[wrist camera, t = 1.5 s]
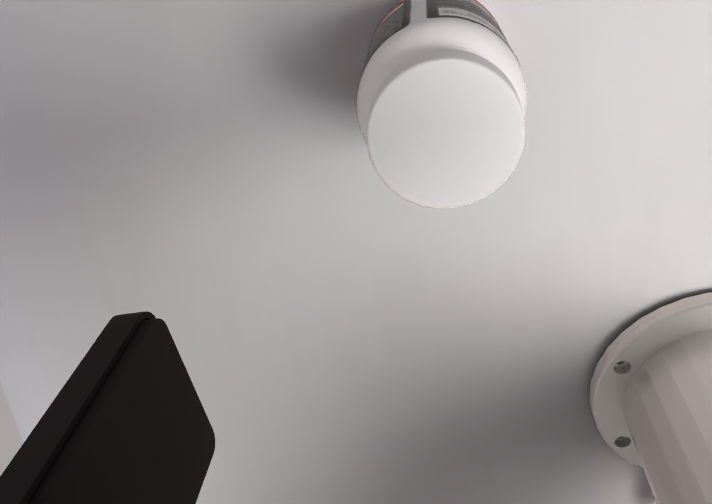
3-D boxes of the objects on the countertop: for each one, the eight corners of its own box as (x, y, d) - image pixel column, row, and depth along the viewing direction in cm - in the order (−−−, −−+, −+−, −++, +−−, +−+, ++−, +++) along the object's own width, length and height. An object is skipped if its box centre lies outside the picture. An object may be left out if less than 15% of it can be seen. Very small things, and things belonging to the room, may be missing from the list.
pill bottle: (397, 139, 29) (386, 246, 21) (349, 19, 27) (314, 84, 18) (520, 95, 28) (563, 191, 19) (481, -38, 25) (511, 5, 17)
